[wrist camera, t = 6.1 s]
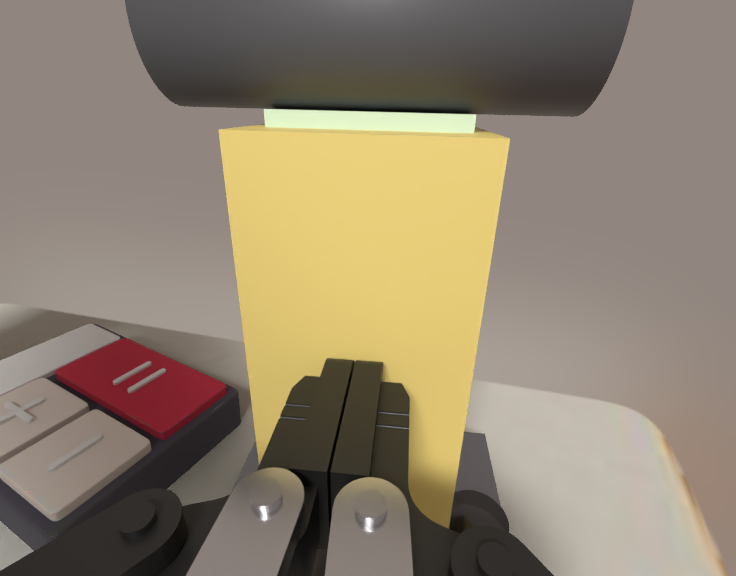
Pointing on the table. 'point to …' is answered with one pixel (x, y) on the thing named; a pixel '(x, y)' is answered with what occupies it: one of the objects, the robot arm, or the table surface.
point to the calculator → (98, 428)
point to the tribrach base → (471, 493)
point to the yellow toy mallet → (373, 177)
